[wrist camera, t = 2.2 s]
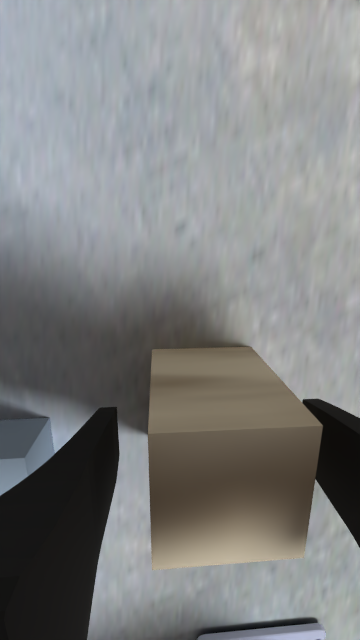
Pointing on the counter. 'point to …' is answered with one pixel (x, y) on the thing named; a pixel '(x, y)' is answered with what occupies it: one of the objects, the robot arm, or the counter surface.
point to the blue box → (23, 449)
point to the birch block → (227, 460)
